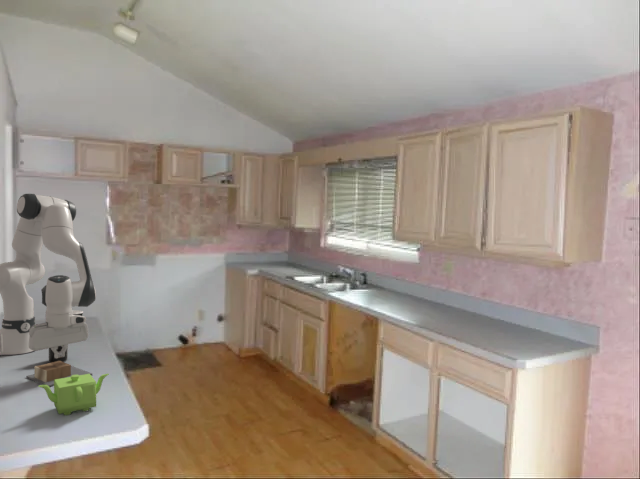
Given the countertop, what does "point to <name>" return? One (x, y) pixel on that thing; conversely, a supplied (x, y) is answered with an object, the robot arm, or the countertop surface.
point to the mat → (51, 383)
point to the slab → (52, 371)
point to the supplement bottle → (53, 359)
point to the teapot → (74, 393)
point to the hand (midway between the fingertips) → (59, 357)
